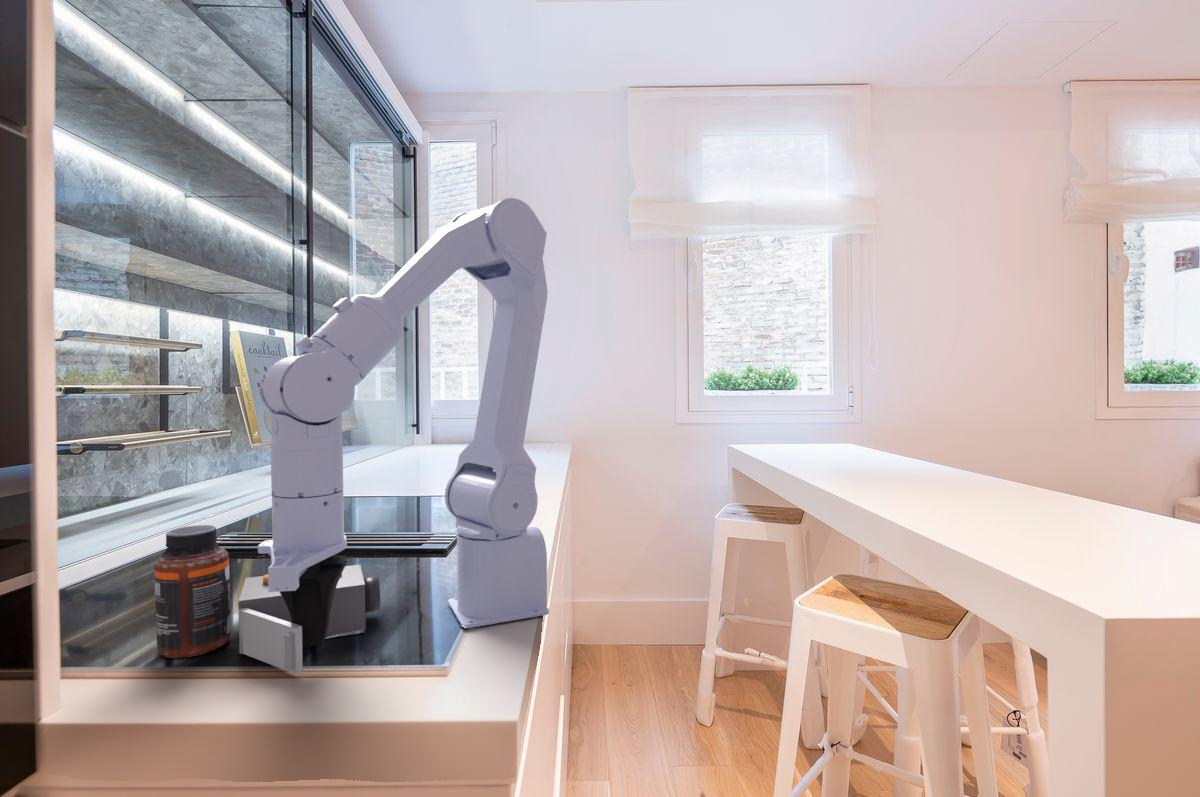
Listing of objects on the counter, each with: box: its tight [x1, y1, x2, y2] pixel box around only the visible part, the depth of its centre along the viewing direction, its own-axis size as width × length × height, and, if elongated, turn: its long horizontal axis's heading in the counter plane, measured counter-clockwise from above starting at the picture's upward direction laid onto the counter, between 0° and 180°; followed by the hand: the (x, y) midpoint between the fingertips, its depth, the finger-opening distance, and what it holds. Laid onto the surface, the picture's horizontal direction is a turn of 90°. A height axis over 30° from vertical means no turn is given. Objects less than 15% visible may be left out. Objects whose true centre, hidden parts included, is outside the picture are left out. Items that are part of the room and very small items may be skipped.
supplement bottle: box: [153, 524, 232, 659], centre depth 59 cm, size 6×6×11 cm
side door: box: [238, 608, 304, 675], centre depth 55 cm, size 8×1×4 cm, turn 61°
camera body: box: [237, 564, 381, 655], centre depth 63 cm, size 13×7×6 cm, turn 115°
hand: (311, 643), depth 55 cm, fingers closed
